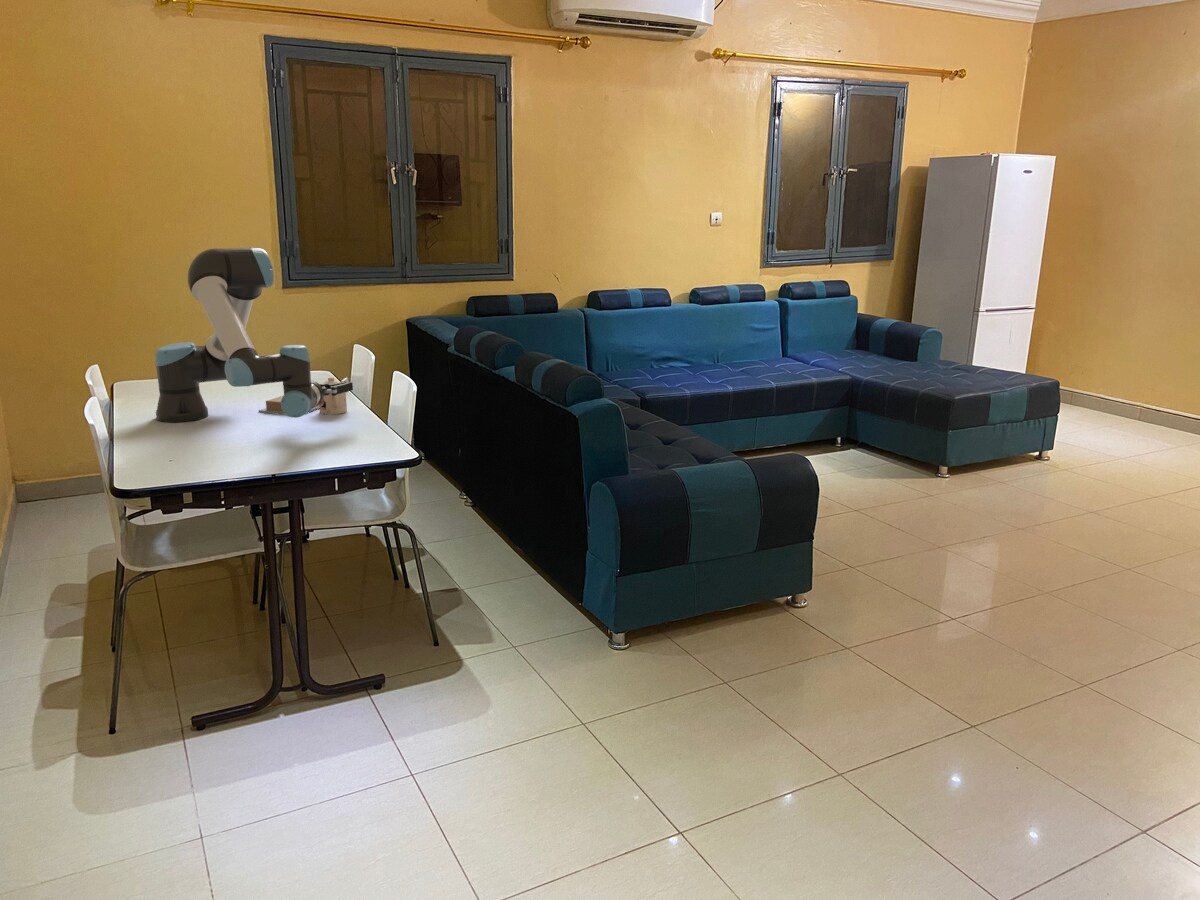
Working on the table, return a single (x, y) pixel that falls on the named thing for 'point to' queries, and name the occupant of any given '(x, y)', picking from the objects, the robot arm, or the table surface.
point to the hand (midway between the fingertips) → (325, 382)
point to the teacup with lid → (333, 401)
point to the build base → (279, 406)
